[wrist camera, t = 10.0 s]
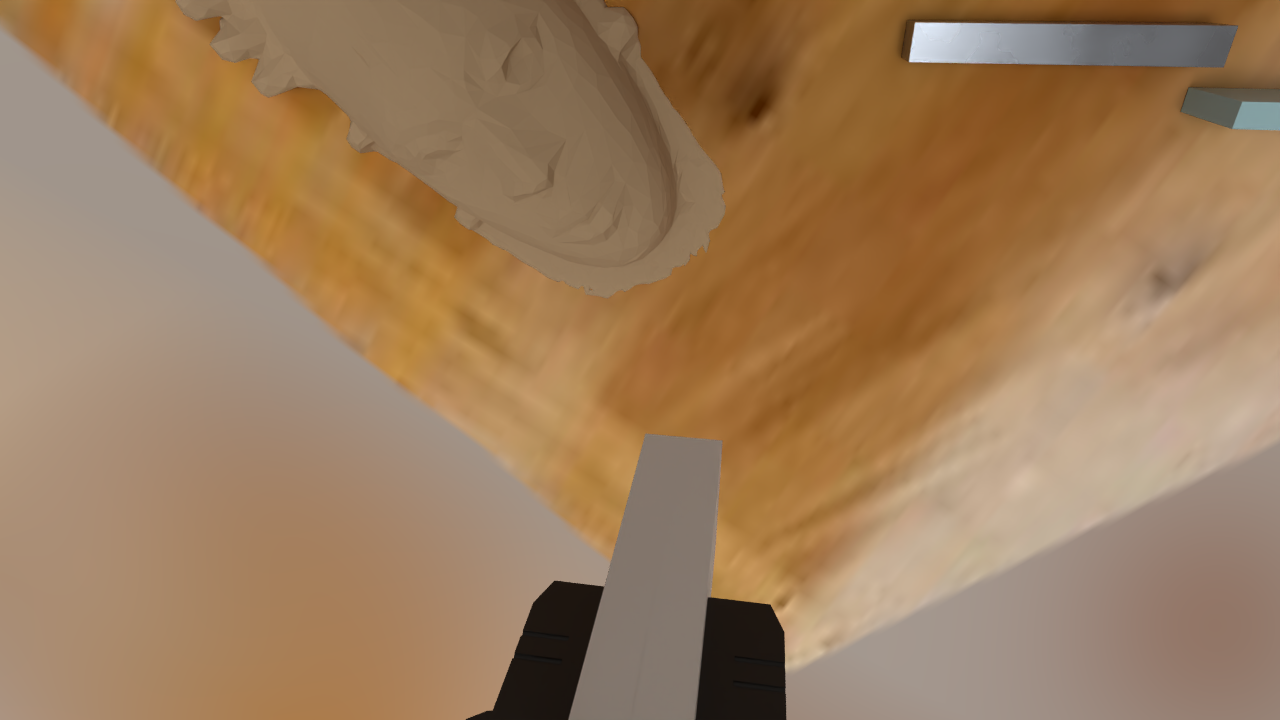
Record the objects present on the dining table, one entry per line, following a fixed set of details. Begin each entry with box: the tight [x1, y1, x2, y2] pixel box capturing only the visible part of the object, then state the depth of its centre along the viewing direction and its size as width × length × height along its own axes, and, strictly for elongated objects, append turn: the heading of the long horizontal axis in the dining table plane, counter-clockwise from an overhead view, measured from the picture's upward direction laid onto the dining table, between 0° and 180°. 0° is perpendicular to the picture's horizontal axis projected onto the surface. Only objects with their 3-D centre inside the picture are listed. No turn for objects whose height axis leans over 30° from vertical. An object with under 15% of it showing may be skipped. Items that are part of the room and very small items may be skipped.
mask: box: [176, 0, 726, 298], centre depth 33 cm, size 15×7×30 cm
